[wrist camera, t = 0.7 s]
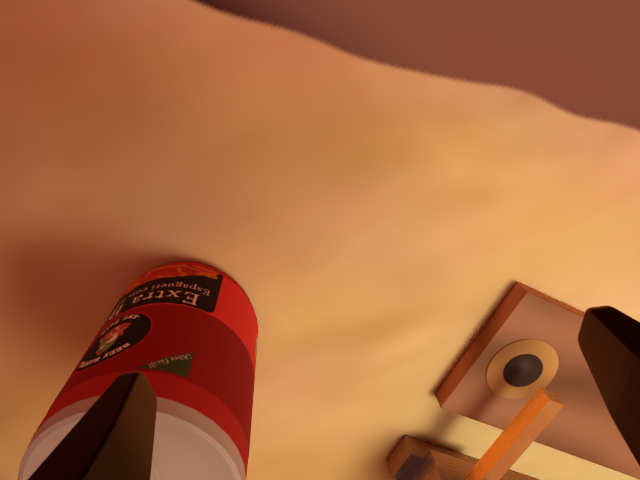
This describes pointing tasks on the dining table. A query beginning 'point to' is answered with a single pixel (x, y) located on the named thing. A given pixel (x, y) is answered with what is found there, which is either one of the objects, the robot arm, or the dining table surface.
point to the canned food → (172, 372)
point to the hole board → (537, 379)
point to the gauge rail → (493, 468)
